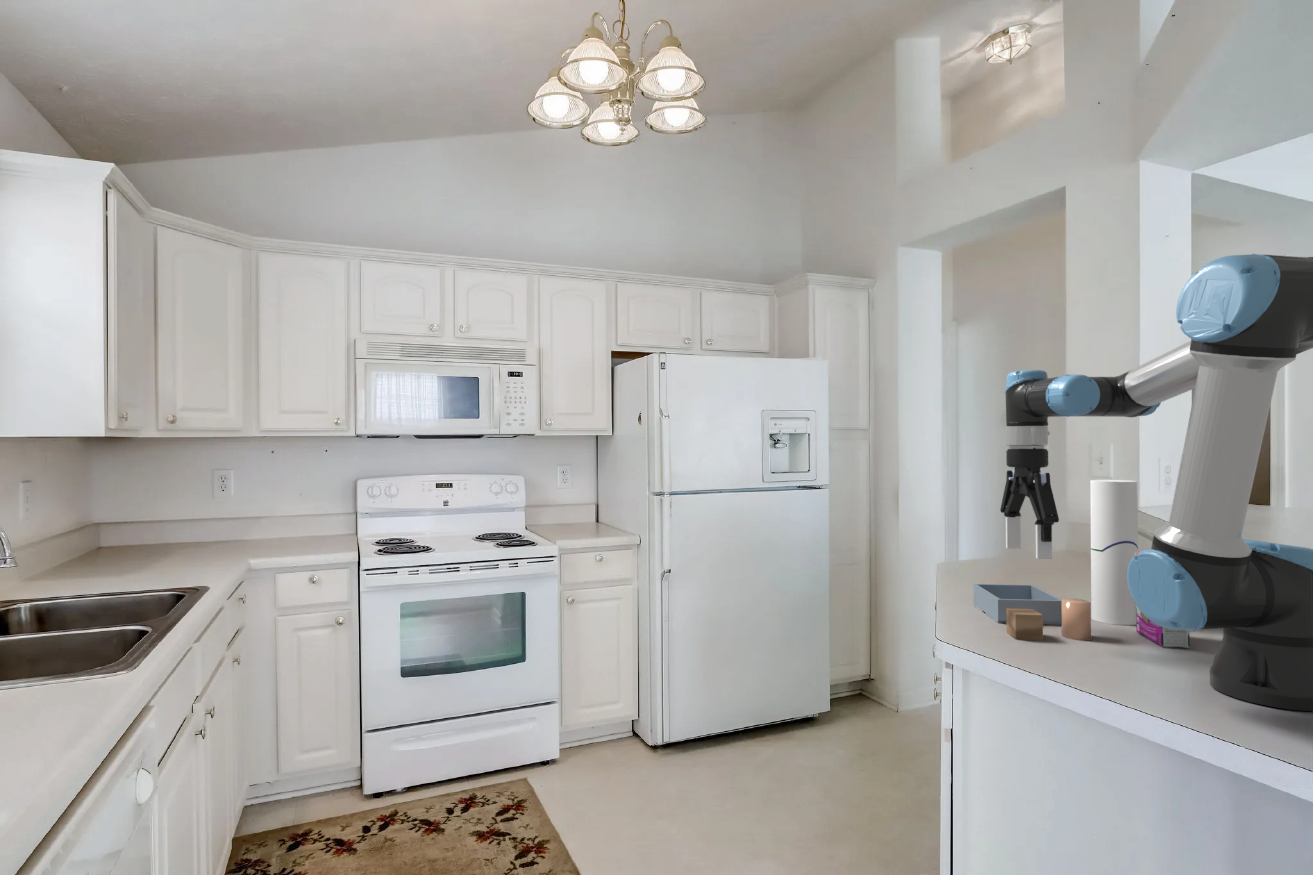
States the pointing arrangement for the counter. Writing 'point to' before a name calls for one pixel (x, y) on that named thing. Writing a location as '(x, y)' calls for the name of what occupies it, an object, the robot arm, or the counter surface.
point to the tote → (1017, 601)
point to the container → (1113, 549)
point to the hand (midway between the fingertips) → (1027, 553)
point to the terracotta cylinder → (1076, 619)
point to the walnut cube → (1024, 624)
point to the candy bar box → (1161, 632)
